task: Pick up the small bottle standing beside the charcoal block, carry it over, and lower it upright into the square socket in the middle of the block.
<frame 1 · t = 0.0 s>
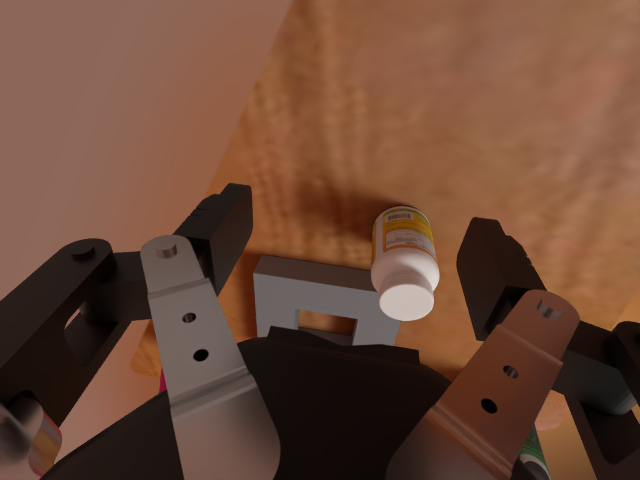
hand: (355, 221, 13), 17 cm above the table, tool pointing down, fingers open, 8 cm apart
coffee jar: (485, 391, 47), on the table
supplement bottle: (400, 227, 33), on the table
socket block: (327, 313, 42), on the table
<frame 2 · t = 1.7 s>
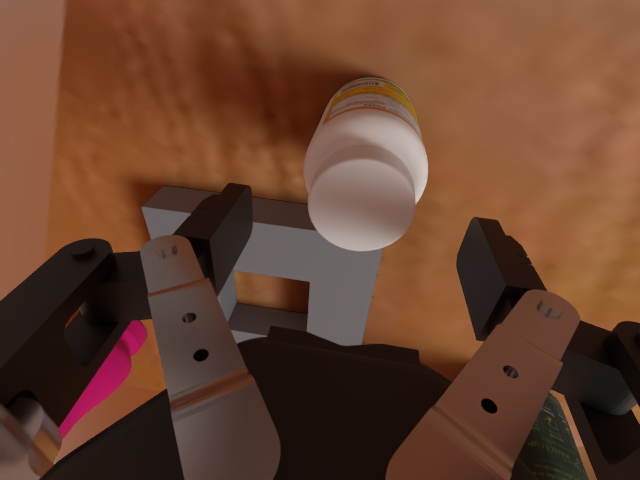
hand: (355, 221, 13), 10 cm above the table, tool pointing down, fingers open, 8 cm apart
coffee jar: (501, 393, 34), on the table
pepper mill: (120, 323, 37), on the table
supplement bottle: (368, 123, 20), on the table
socket block: (273, 281, 29), on the table
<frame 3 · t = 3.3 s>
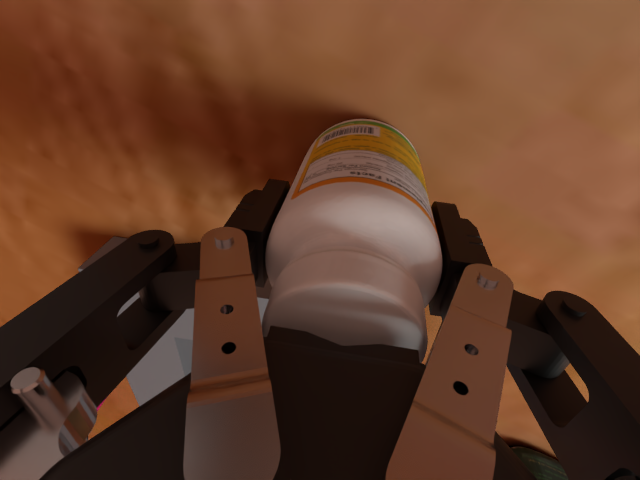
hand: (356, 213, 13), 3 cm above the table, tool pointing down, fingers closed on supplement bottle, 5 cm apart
coffee jar: (515, 465, 30), on the table
supplement bottle: (361, 173, 16), on the table, touching gripper
socket block: (249, 342, 25), on the table
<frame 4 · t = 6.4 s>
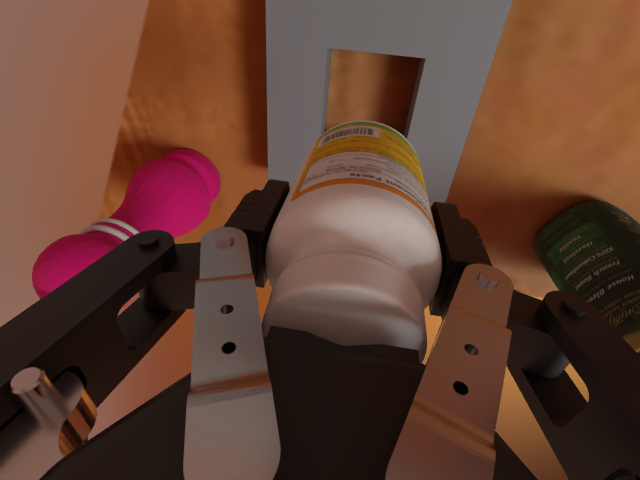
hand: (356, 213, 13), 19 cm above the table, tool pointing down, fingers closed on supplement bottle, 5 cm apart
coffee jar: (584, 239, 34), on the table
pepper mill: (193, 176, 36), on the table
supplement bottle: (361, 174, 16), point 16 cm above the table, touching gripper
socket block: (369, 95, 29), on the table
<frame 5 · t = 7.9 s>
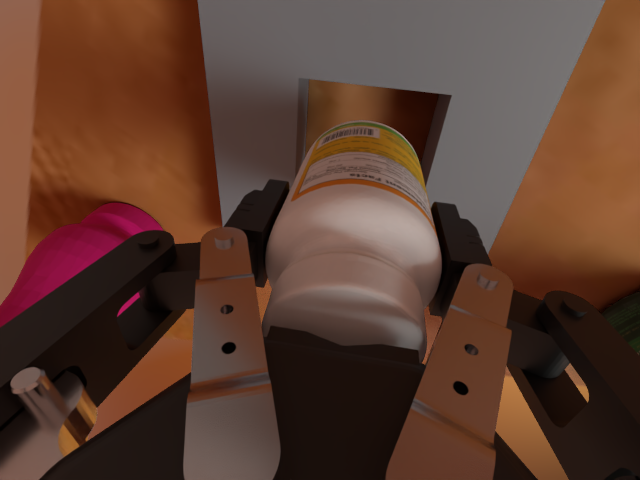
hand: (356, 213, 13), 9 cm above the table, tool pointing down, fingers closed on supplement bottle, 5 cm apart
pepper mill: (134, 234, 27), on the table
supplement bottle: (360, 174, 16), point 5 cm above the table, touching gripper
socket block: (364, 139, 20), on the table
when the fingers open (5 cm above the table, at t = 9.5 s): supplement bottle drops 1 cm, resting in socket block.
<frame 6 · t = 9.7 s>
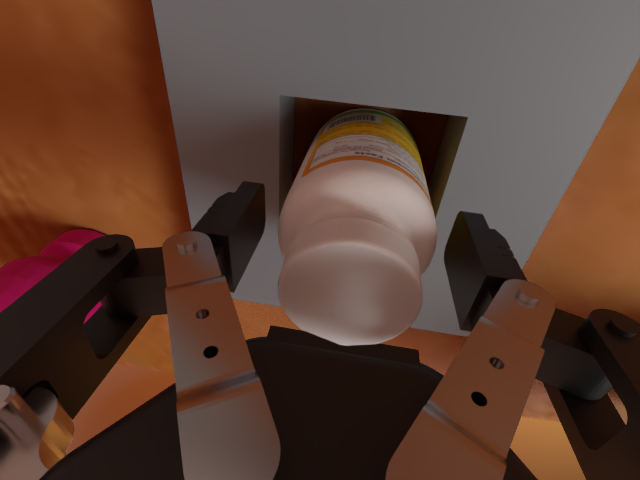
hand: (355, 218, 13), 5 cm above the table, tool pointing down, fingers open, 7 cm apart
pepper mill: (103, 262, 24), on the table
supplement bottle: (363, 160, 17), resting in socket block
socket block: (361, 162, 17), on the table
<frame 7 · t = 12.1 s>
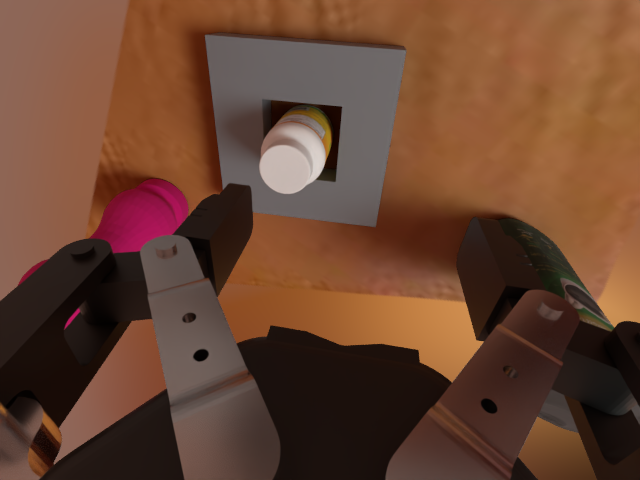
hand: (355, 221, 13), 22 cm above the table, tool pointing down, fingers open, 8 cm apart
coffee jar: (506, 250, 38), on the table
pepper mill: (164, 201, 41), on the table
supplement bottle: (307, 131, 34), resting in socket block
socket block: (306, 132, 34), on the table
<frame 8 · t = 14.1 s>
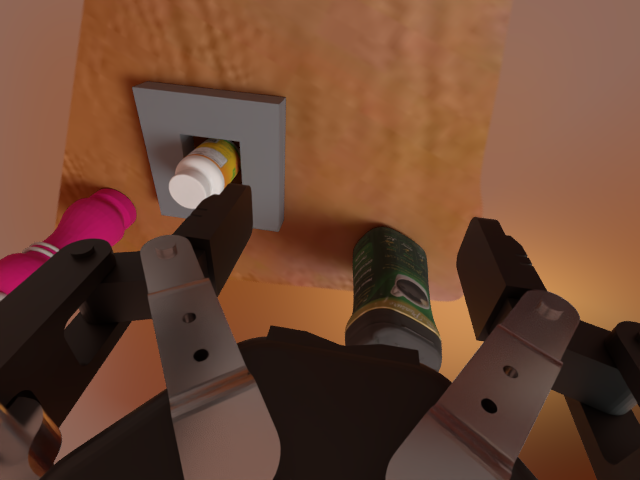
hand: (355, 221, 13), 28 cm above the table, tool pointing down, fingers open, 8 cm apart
coffee jar: (389, 252, 48), on the table
pepper mill: (117, 206, 50), on the table
supplement bottle: (223, 156, 43), resting in socket block
socket block: (222, 157, 43), on the table
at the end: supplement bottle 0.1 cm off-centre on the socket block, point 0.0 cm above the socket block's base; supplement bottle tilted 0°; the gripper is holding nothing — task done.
